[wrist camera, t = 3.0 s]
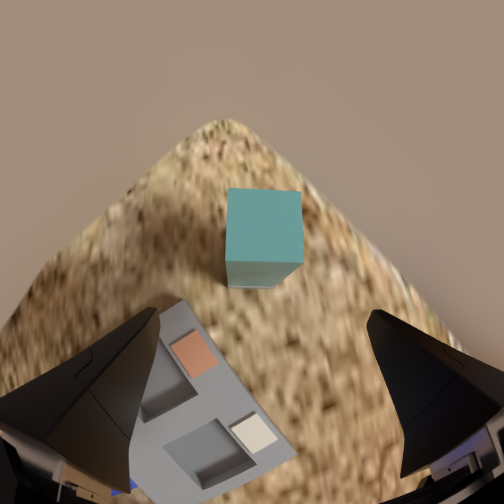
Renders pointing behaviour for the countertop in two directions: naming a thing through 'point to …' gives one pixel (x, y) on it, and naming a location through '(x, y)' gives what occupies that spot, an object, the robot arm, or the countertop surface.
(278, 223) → the plug
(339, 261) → the countertop surface
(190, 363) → the socket board
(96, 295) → the countertop surface
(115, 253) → the countertop surface
